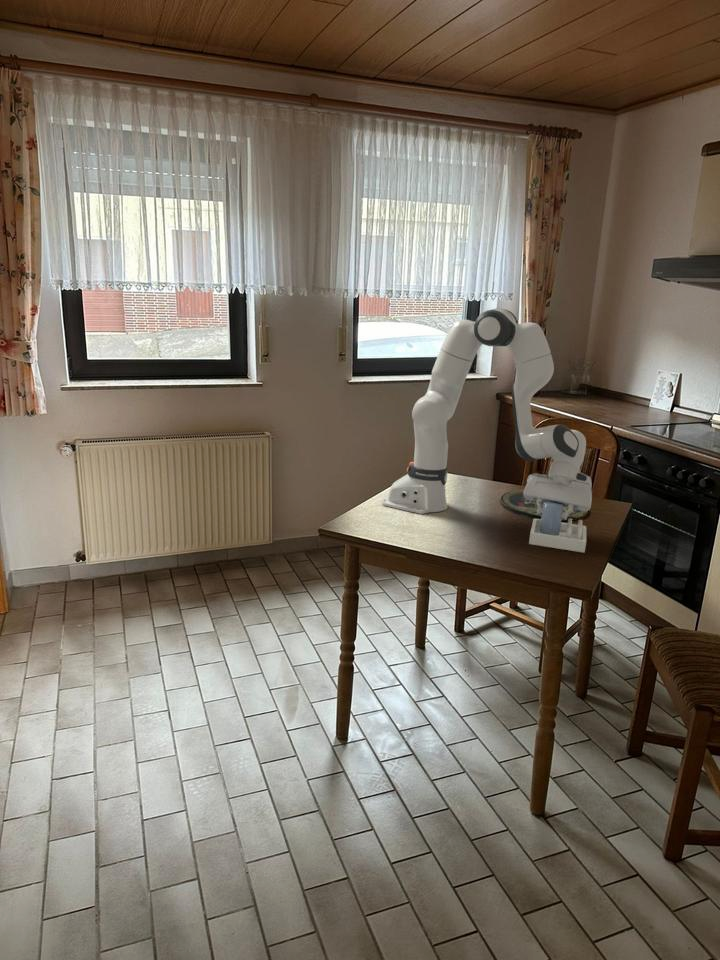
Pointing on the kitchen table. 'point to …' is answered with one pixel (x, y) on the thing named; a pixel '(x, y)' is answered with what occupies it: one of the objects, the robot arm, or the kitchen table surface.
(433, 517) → the kitchen table surface
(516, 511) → the decorative plate
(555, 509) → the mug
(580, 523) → the white pegged tray
